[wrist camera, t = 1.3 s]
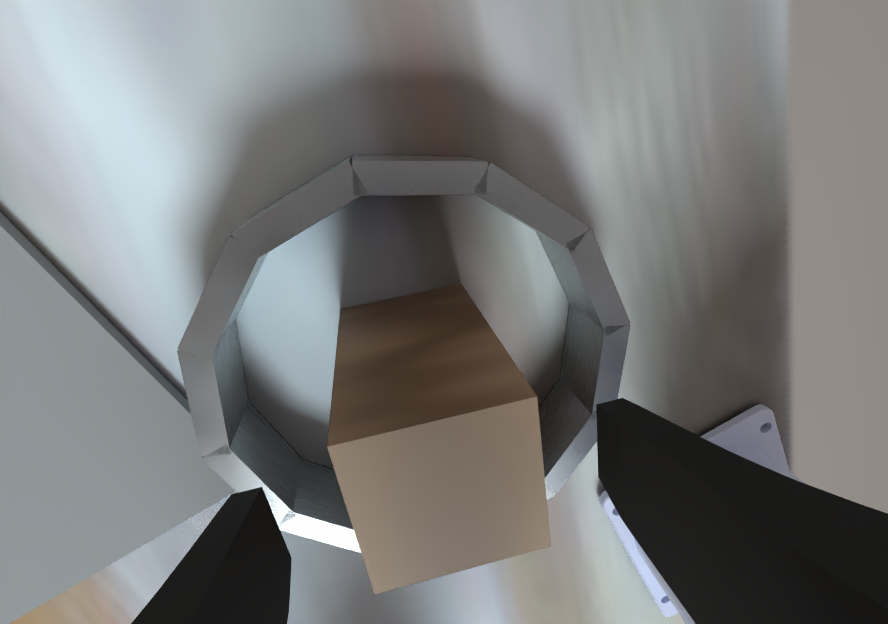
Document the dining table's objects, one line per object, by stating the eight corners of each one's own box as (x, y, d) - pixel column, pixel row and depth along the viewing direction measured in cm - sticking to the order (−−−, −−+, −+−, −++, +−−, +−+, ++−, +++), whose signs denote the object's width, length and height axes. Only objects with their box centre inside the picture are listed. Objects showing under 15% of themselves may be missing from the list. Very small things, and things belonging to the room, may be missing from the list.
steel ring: (633, 390, 18) (673, 428, 16) (357, 547, 18) (357, 607, 16) (491, 69, 13) (520, 56, 11) (118, 298, 13) (69, 333, 11)
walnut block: (461, 283, 15) (537, 396, 9) (476, 386, 17) (550, 546, 10) (340, 309, 15) (326, 447, 8) (367, 411, 16) (374, 594, 10)
